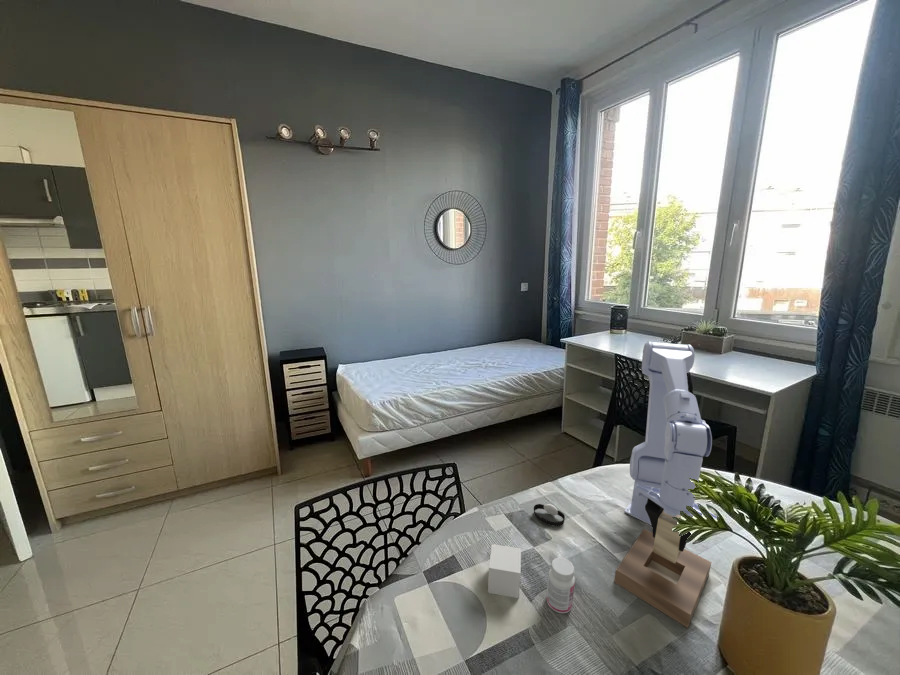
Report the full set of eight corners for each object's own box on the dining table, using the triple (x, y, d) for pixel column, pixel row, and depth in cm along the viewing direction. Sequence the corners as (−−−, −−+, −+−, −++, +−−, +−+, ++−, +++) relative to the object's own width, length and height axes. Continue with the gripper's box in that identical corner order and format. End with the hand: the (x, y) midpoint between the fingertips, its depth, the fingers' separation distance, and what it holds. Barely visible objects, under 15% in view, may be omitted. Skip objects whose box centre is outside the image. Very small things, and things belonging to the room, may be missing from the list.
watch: (566, 520, 92) (567, 507, 91) (561, 531, 88) (562, 518, 87) (536, 508, 96) (537, 496, 95) (530, 519, 92) (531, 506, 91)
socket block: (642, 539, 86) (644, 528, 85) (708, 574, 77) (711, 562, 76) (614, 581, 75) (615, 569, 74) (687, 628, 66) (690, 614, 65)
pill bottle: (573, 616, 68) (577, 579, 66) (546, 611, 69) (550, 574, 67) (570, 593, 72) (574, 557, 70) (545, 589, 73) (548, 553, 71)
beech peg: (659, 540, 77) (664, 507, 75) (681, 552, 74) (687, 517, 72) (652, 551, 74) (658, 517, 72) (675, 563, 72) (681, 528, 70)
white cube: (490, 567, 78) (491, 543, 77) (519, 572, 77) (521, 548, 76) (487, 593, 72) (488, 567, 71) (519, 598, 71) (520, 573, 70)
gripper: (631, 473, 73) (623, 532, 76) (720, 510, 63) (706, 576, 66) (644, 459, 78) (636, 515, 81) (729, 492, 68) (715, 553, 71)
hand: (668, 541), depth 74 cm, fingers closed on beech peg, 4 cm apart
